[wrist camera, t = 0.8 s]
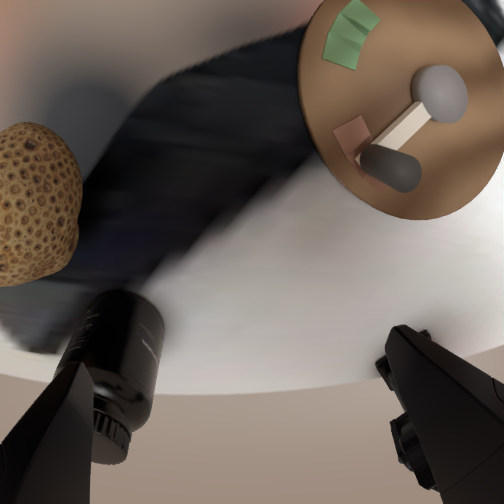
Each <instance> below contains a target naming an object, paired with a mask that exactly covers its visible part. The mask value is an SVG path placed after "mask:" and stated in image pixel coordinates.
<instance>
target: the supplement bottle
mask: <svg viewBox="0 0 504 504" xmlns="http://www.w3.org/2000/svg"><path fill="white" fill-rule="evenodd" d="M163 340H164V327H163V323H162V321H161V319H160V317H159V315H158V314H157V312H156V311H155V310H154V309H153V308H152V307H151V306H150V305H149V304H148V303H147V302H145V301H144V300H142V299H141V298H139V297H136V296H134V295H131V294H128V293H123V292H111V293H106V294H103V295H101V296H99V297H98V298H96V299H95V300H94V301H93V302H92V303H91V304H90V306H89V307H88V309H87V311H86V312H85V314H84V316H83V318H82V320H81V321H80V323H79V325H78V327H77V329H76V331H75V333H74V335H73V336H72V338H71V340H70V342H69V344H68V346H67V348H66V350H65V352H64V354H63V356H62V358H61V360H60V362H59V364H58V366H57V369H56V371H55V373H54V376H53V379H54V378H55V377H56V376H57V375H58V373H59V372H60V371H61V370H62V369H63V368H64V367H65V366H66V364H67V363H69V362H82V363H83V364H84V365H85V367H86V369H87V371H88V373H89V375H90V376H91V378H92V381H93V385H94V395H93V444H92V457H91V462H94V463H99V464H107V465H111V464H112V465H115V464H119V463H121V462H123V461H124V460H126V457H127V454H128V448H129V443H130V441H131V437H132V432H134V431H136V430H138V429H139V428H141V427H142V426H143V425H144V424H145V423H146V422H147V420H148V419H149V417H150V413H151V409H152V403H153V397H154V391H155V385H156V379H157V373H158V368H159V362H160V357H161V352H162V346H163Z"/></svg>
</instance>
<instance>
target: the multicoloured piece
mask: <svg viewBox="0 0 504 504" xmlns="http://www.w3.org/2000/svg"><path fill="white" fill-rule="evenodd" d="M412 96H413V100H414V104H413V105H411V106H410V107H409V108H408V109H407V110H406V111H405V112H404V113H403V114H402V115H401V116H400V117H399V118H398V119H396V120H395V121H394V122H393V123H392V124H391V125H390V126H389V127H388V128H387V129H386V130H385V131H384V132H383V133H382V134H380V135H379V136H378V137H377V138H376V139H375V140H374V141H373V142H372V143H371V144H370V145H368V146H366V147H365V148H364V149H363V151H362V152H361V153H360V154H359V155H358V156H357V157H356V158H355V160H356V161H357V163H358V164H359V165H360V166H361V168H362V170H363V171H364V172H365V173H366V174H368V175H370V176H372V177H373V178H375V179H377V180H379V181H381V182H382V183H384V184H386V185H388V186H390V187H391V188H393V189H395V190H397V191H398V192H401V193H408V192H411V191H413V190H414V189H415V188H416V187H417V186H418V184H419V183H420V180H421V176H422V169H421V165H420V163H419V161H418V160H417V159H416V158H415V157H413V156H411V155H408V154H405V153H402V152H399V151H397V150H398V149H399V148H400V147H401V146H402V145H403V144H404V143H405V142H406V141H407V140H408V139H409V138H410V137H411V136H412V135H413V134H414V133H416V132H417V131H418V130H419V129H420V128H421V127H422V126H423V125H424V124H425V123H426V122H427V121H428V120H432V121H437V122H442V123H448V124H452V123H455V122H457V121H459V120H460V119H461V118H462V117H463V116H464V114H465V112H466V109H467V105H468V93H467V88H466V85H465V83H464V81H463V79H462V77H461V76H460V75H459V73H458V72H457V71H456V70H454V69H453V68H451V67H449V66H446V65H434V66H425V67H423V68H421V69H420V70H418V71H417V73H416V74H415V76H414V79H413V82H412Z"/></svg>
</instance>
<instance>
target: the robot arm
mask: <svg viewBox="0 0 504 504" xmlns="http://www.w3.org/2000/svg"><path fill="white" fill-rule="evenodd" d="M385 353H386V357H384V358H383V359H381V360H379V361H378V362H377V363H376V364H375V366H376V368H377V370H378V371H379V373H380V374H381V376H382V378H383V379H384V381H385V382H386V384H387V386H388V387H389V389H390V390H391V391H394V392H395V394H396V396H397V398H398V400H399V401H400V403H401V406H402V407H403V409H404V411H405V413H403V414H402V415H401V416H399V417H398V418H396V419H393V420H392V421H390V425H391V432H392V436H393V439H394V443H395V447H396V451H397V455H398V461H399V462H400V463H401V464H404V465H405V466H406V467H407V468H408V469H409V470H410V471H412V472H414V473H415V475H416V478H417V480H418V483H419V485H420V486H422V487H423V488H425V489H427V490H430V489H433V490H435V491H437V492H439V493H440V496H441V499H442V501H443V504H504V384H503V383H501V382H500V381H498V380H496V379H495V378H491V376H489V375H488V374H486V373H485V372H483V371H481V370H480V369H478V368H476V367H475V366H473V365H472V364H470V363H468V362H467V361H465V360H463V359H462V358H460V357H458V356H457V355H455V354H453V353H452V352H450V351H448V350H447V349H445V348H443V347H442V346H440V345H438V344H437V343H435V342H433V341H432V340H431V337H430V334H429V332H428V331H427V330H425V331H423V332H422V333H418V332H417V331H415V330H413V329H412V328H410V327H408V326H407V325H398V326H394V327H393V328H392V329H391V330H390V333H389V336H388V339H387V341H386V344H385ZM93 395H94V385H93V381H92V378H91V376H90V375H89V373H88V371H87V369H86V367H85V365H84V364H83V363H82V362H69V363H67V364H66V366H65V367H64V368H63V369H62V370H61V371H60V372H59V373H58V375H57V376H56V377H55V378H54V379H53V380H52V382H51V383H50V384H49V385H48V386H47V387H46V388H45V390H44V391H43V392H42V393H41V395H40V396H39V397H38V398H37V399H36V400H35V401H34V403H33V404H32V405H31V406H30V408H29V409H28V410H27V411H26V412H25V414H24V415H23V416H22V417H21V419H20V420H19V421H18V422H17V423H16V425H15V426H14V427H13V428H12V430H11V431H10V432H9V434H8V435H7V436H6V437H5V438H4V440H3V441H2V444H0V504H90V474H91V457H92V444H93Z"/></svg>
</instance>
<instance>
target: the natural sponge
mask: <svg viewBox="0 0 504 504" xmlns="http://www.w3.org/2000/svg"><path fill="white" fill-rule="evenodd" d="M82 193H83V187H82V176H81V173H80V169H79V166H78V164H77V162H76V159H75V157H74V156H73V154H72V152H71V151H70V149H69V148H68V146H67V145H66V143H65V142H64V141H63V139H62V138H61V137H59V136H58V135H57V134H55V133H54V132H53V131H51V130H50V129H48V128H46V127H44V126H42V125H39V124H35V123H30V122H24V123H18V124H15V125H13V126H10V127H9V128H7V129H5V130H4V131H2V132H1V133H0V286H14V285H19V284H23V283H27V282H30V281H33V280H36V279H38V278H41V277H44V276H47V275H50V274H53V273H55V272H57V271H59V270H61V269H62V268H63V267H65V266H66V265H67V264H68V262H69V261H70V260H71V257H72V255H73V253H74V251H75V249H76V246H77V242H78V237H79V227H78V222H77V220H78V215H79V212H80V208H81V202H82Z"/></svg>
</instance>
